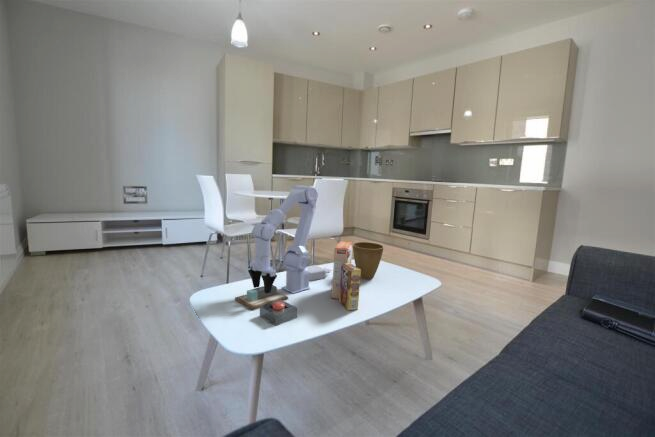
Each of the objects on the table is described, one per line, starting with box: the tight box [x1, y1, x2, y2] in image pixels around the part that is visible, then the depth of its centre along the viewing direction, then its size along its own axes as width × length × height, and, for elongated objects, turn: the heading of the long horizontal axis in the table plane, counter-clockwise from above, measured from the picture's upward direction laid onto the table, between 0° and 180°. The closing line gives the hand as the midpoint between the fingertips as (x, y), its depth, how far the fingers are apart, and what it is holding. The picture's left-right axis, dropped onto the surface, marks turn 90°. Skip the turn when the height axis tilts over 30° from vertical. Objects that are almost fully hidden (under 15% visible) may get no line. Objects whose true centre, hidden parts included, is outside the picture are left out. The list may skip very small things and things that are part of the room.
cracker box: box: [331, 240, 354, 300], centre depth 129 cm, size 14×6×21 cm, turn 168°
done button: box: [273, 302, 285, 311], centre depth 106 cm, size 4×4×2 cm
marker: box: [246, 284, 278, 301], centre depth 120 cm, size 12×3×3 cm, turn 136°
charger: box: [306, 264, 332, 282], centre depth 151 cm, size 5×9×15 cm
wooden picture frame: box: [234, 290, 289, 311], centre depth 120 cm, size 16×12×1 cm
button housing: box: [259, 300, 298, 327], centre depth 106 cm, size 9×9×4 cm
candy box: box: [338, 263, 361, 311], centre depth 117 cm, size 9×4×15 cm, turn 21°
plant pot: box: [352, 241, 385, 280], centre depth 152 cm, size 15×15×16 cm
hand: (261, 289), depth 120 cm, fingers open, 7 cm apart
